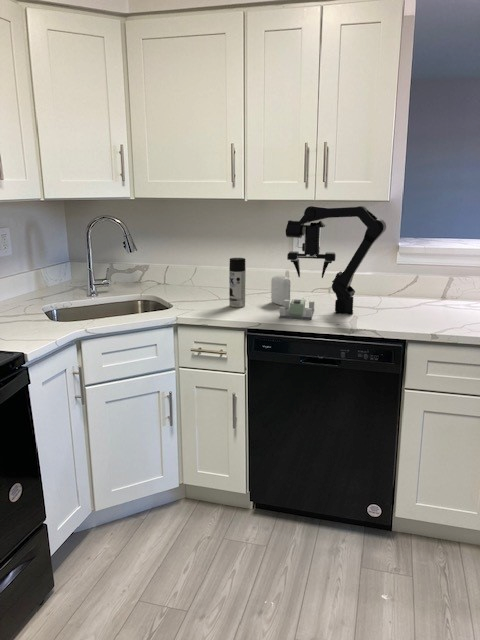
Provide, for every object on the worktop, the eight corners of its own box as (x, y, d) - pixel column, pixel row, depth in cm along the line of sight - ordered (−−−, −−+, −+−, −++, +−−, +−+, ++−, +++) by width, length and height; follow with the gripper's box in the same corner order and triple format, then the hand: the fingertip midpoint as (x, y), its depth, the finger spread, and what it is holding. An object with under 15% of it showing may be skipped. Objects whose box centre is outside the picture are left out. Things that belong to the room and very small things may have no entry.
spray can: (226, 305, 217) (226, 257, 212) (240, 303, 220) (241, 256, 215) (233, 308, 212) (233, 259, 207) (248, 306, 215) (248, 258, 210)
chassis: (314, 310, 208) (314, 301, 207) (311, 319, 194) (311, 309, 193) (284, 309, 210) (284, 299, 209) (279, 318, 196) (279, 307, 195)
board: (304, 309, 206) (305, 297, 205) (302, 314, 197) (303, 302, 196) (292, 308, 207) (292, 297, 206) (289, 314, 198) (290, 301, 197)
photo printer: (269, 302, 223) (270, 274, 220) (277, 301, 225) (278, 273, 222) (282, 306, 215) (283, 277, 212) (291, 305, 217) (292, 276, 214)
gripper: (336, 237, 209) (335, 275, 213) (291, 236, 213) (290, 273, 217) (335, 239, 199) (334, 279, 203) (287, 238, 203) (286, 278, 207)
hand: (310, 277), depth 208 cm, fingers open, 9 cm apart
